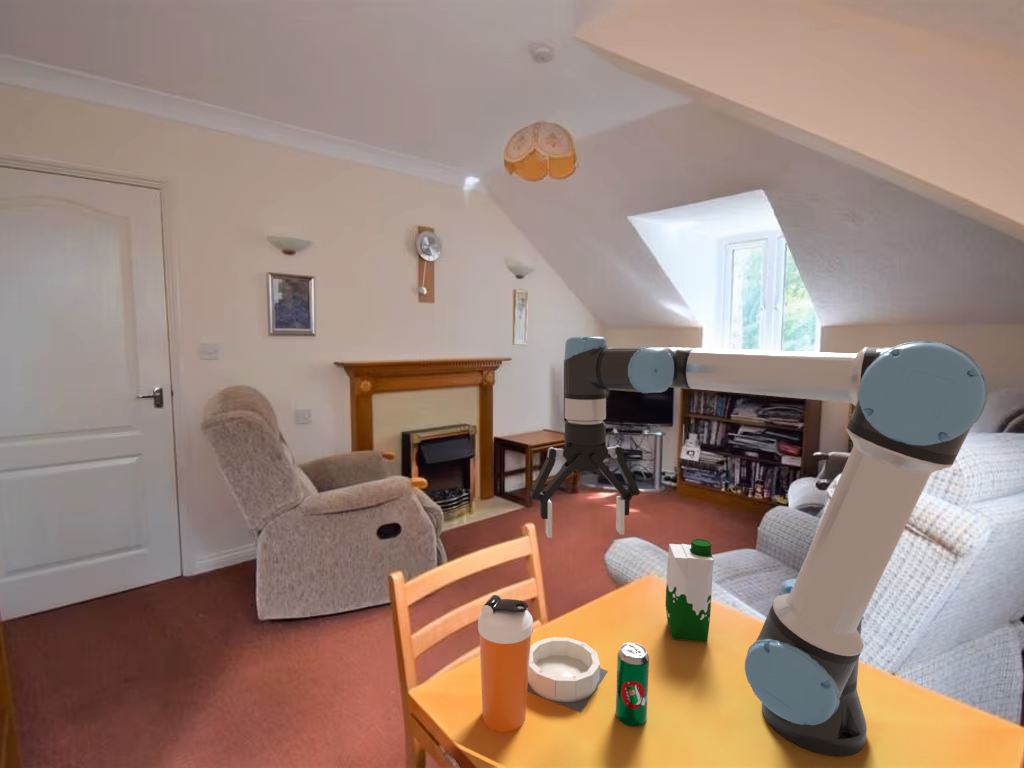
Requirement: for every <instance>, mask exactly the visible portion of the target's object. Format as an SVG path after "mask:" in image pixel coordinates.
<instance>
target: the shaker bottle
mask: <svg viewBox="0 0 1024 768" xmlns="http://www.w3.org/2000/svg"><path fill="white" fill-rule="evenodd" d="M528 609H529V605H528V603H527V602H526V601H525V600H519V599H511V598H509V599H508V598H501V596H499V595H498V594H493V595H491V596H490V598H489V599H488V600H487V601H486V602H485V604H484V605H483V606H482V607H481V612H480V613H479V615H478V618H477V622H478V624H477V632H478V634H479V651H480V652H479V653H480V659H479V660H480V678H481V679H480V680H481V704H482V705H481V706H482V707H481V708H482V709H481V710H482V720H483V723H484V724H485V726H486V727H488V729H491V730H492V731H494V732H498V733H499V732H500V733H508V732H509V733H510V732H514V731H517V730H518V729H520V728H521V727H522V726H523V725H524V724H525V721H526V716H527V715H526V714H527V713H526V712H527V701H528V700H527V698H528V692H527V686H528V671H529V656H530V647H531V641H532V640H531V638H532V635H533V629H534V628H533V627H534V626H533V624H534V619H533V616H532V614H531V613H530V612H529V610H528Z"/></svg>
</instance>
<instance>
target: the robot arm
mask: <svg viewBox="0 0 1024 768" xmlns="http://www.w3.org/2000/svg"><path fill="white" fill-rule="evenodd" d="M564 347H565V348H564V359H563V364H564V419H566V421H565V423H564V444H563V445H564V446H563V448H556V447H553V446H548V447H547V450H546V451H547V452H546V457H545V458H546V459H545V461H544V462H543V465H542V466H541V468H540V471H539V473H538V475H537V477H536V479H535V481H534V483H533V485H532V487H531V489H530V491H529V495H530V496H531V498H532V499H533V500H537V501H539V515H540V517H541V519H542V520H545V535H546V536H547V538H548V539H553V502H552V501H551V498H552V496H554V494H555V493H556V492H557V491H558V490H559V489H560V487H561V486H562V484H564V482H565V480H566V479H567V478H568V477H569V476H570V475H572V474H573V472H574V471H575V472H577V473H584V472H591V473H593V472H596V471H597V470H599V471H600V473H602V474H603V476H604V477H605V478H606V479H607V480H608V482H609V483H610V484H611V485H612V486H613V488H615V491H617V492H618V493H619V495H617V496H615V501H616V503H615V504H616V505H615V510H616V511H615V514H616V515H615V530H616V531H617V533H618V534H619V535H623V536H624V535H625V516H629V515H630V503H631V500H632V499H633V498H632V497H635V496H639V495H640V493H641V491H640V489H639V487H638V485H637V483H636V481H635V478H634V477H633V475H632V472H631V470H630V468H629V466H628V465H627V463H626V460H625V457H624V448H622V446H620V445H618V444H613V446H608V447H607V445H606V442H607V441H606V440H607V437H606V436H607V433H606V430H607V426H606V423H605V422H604V420H606V419H607V408H606V407H607V391H623V392H636V393H641V394H649V393H650V394H652V393H653V394H654V393H663V392H666V391H667V390H668V389H669V388H675V389H676V388H677V389H686V390H688V389H690V390H692V389H693V390H703V391H715V392H724V393H725V392H726V393H739V394H747V395H749V394H750V395H759V396H768V397H771V396H772V397H780V398H792V399H793V398H794V399H802V400H803V399H805V400H813V401H815V400H816V401H823V402H825V401H826V402H835V403H836V402H837V403H847V404H848V403H849V404H852V405H853V406H854V409H853V412H852V414H851V417H850V418H849V421H848V423H847V426H846V428H845V429H846V433H848V436H849V437H850V440H851V441H852V444H853V445H852V449H851V451H850V453H849V456H848V459H847V460H846V462H845V465H844V467H843V470H842V472H841V474H840V477H839V479H838V481H837V484H836V486H835V489H834V491H833V492H832V496H831V498H830V500H829V502H828V505H827V507H826V510H825V512H824V515H823V516H822V519H821V521H820V523H819V526H818V528H817V530H816V533H815V535H814V537H813V539H812V542H811V544H810V547H809V549H808V551H807V554H806V556H805V558H804V561H803V563H802V565H801V568H800V570H799V573H798V575H797V577H796V578H790V579H787V580H785V581H783V582H782V583H781V586H780V591H779V592H778V595H777V596H776V597H775V598H774V600H773V602H772V605H771V607H770V609H769V611H768V613H767V616H766V618H765V621H764V623H763V626H762V628H761V629H760V632H759V635H758V636H757V638H756V640H755V641H754V643H752V644H751V645H750V646H749V647H748V650H747V652H746V656H745V661H744V673H745V676H746V680H747V682H748V684H749V686H750V687H751V689H752V692H753V693H754V695H755V696H756V698H757V699H758V700H759V702H761V711H762V715H763V716H764V718H765V720H766V722H768V724H769V725H770V726H771V727H772V728H773V729H774V730H775V731H776V732H778V734H780V735H781V736H782V737H784V738H785V739H787V740H789V741H790V742H791V743H793V744H795V745H797V746H800V747H802V748H805V749H807V750H810V751H812V752H815V753H818V754H823V755H830V756H839V757H840V756H842V757H843V756H850V755H854V754H856V753H859V752H860V751H861V750H863V748H864V747H865V745H866V741H867V733H868V732H867V731H868V730H867V721H866V718H865V714H864V710H863V707H862V704H861V700H860V696H859V693H858V690H857V689H858V686H857V685H858V675H859V673H858V672H859V660H860V656H861V653H862V651H863V650H864V641H863V639H862V636H861V634H862V624H863V623H862V622H863V621H864V620H865V617H864V614H865V612H866V610H867V607H868V606H869V604H870V602H871V599H872V597H873V595H874V593H875V591H876V589H877V587H878V585H879V583H880V581H881V578H882V576H883V575H884V573H885V570H886V569H887V566H888V564H889V562H890V560H891V557H892V556H893V553H894V551H895V549H896V547H897V545H898V543H899V541H900V539H901V537H902V534H903V533H904V530H905V528H906V526H907V524H908V522H909V520H910V519H911V515H912V513H913V512H914V510H915V508H916V505H917V504H918V501H919V499H920V497H921V495H922V493H923V492H924V491H923V490H924V489H925V486H926V484H927V482H928V480H929V478H930V476H931V474H932V473H934V472H939V471H941V470H945V469H948V468H951V467H952V466H953V464H954V462H955V461H956V459H957V456H958V455H959V453H960V450H961V449H962V447H963V444H964V442H965V440H966V438H967V436H968V434H969V432H970V430H971V428H972V427H973V425H974V424H975V423H977V422H978V421H979V419H980V418H981V416H982V414H983V412H984V410H985V407H986V405H987V401H988V396H989V395H988V394H989V393H988V385H987V380H986V377H985V375H984V373H983V370H982V369H981V367H980V365H979V364H978V362H976V360H975V359H974V358H973V357H972V356H971V355H970V354H969V353H967V352H965V351H964V350H962V349H961V348H958V347H956V346H954V345H952V344H947V343H944V342H937V341H929V340H915V341H910V342H909V341H908V342H904V343H901V344H898V345H895V346H889V347H885V346H881V347H877V346H876V347H875V346H870V347H869V346H865V347H863V348H861V350H859V351H858V352H856V353H849V352H822V351H821V352H820V351H797V350H796V351H795V350H772V349H771V350H770V349H769V350H768V349H767V350H766V349H765V350H764V349H739V348H738V349H734V348H715V347H714V348H711V347H710V348H709V347H684V346H683V347H681V346H679V345H678V346H676V345H672V346H671V345H670V346H669V345H668V346H663V347H661V346H658V347H656V346H644V347H643V346H642V347H641V346H639V347H610V346H609V347H608V344H607V340H606V338H605V337H604V336H571V337H568V339H566V341H565V346H564ZM608 455H610V457H611V458H613V459H614V461H615V463H616V467H618V470H619V471H620V474H621V476H622V478H623V480H624V482H625V484H626V485H627V488H626V487H624V486H623V484H622V482H620V481H619V480H618V478H617V477H616V476H615V475H614V474H613V473H612V471H611V470H610V468H608V466H607V465H606V464H605V463H604V461H605V460H606V458H607V457H608ZM561 456H562V457H563V458H564V459H565V462H564V463H563V464H562V465H561V468H560V469H559V470H558V472H557V473H556V474H555V475H554V477H552V479H551V480H550V481H549V482H548V483H547V480H548V478H549V477H550V474H551V472H552V470H553V468H554V466H555V463H556V461H558V460H559V459H560V457H561ZM546 483H547V485H546V486H545V484H546Z"/></svg>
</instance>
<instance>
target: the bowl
mask: <svg viewBox="0 0 1024 768" xmlns="http://www.w3.org/2000/svg"><path fill="white" fill-rule="evenodd" d="M600 668H601V663H600V658H599V653H598V652H597V651H596V650H595V649H593V648H592V647H591V646H589V644H587V643H586V642H584V641H580V640H576V639H574V638H571V637H555V636H552V637H547V638H544V639H541V640H537V641H535V642H534V643H532V645H530V656H529V671H528V684H529V686H530V688H531V689H532V690H533V691H534V692H535V693H537V694H538V695H540V696H542V697H541V698H543V697H544V698H543V699H545V698H546V700H548V699H549V700H548V701H550V700H552V701H551V702H553V701H557V702H575V701H580V700H583V699H585V698H587V697H589V696H590V695H591V694H593V695H594V693H595V692H596V690H597V689H596V688H598V687H597V685H598V681H599V678H600ZM594 691H595V692H594ZM538 695H537V696H538ZM540 696H539V697H540Z"/></svg>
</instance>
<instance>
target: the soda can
mask: <svg viewBox="0 0 1024 768" xmlns="http://www.w3.org/2000/svg"><path fill="white" fill-rule="evenodd" d="M616 661H617V662H616V663H617V664H616V689H615V690H616V691H615V693H616V694H615V717H616V718H617V720H618V721H619V722H621V724H623V725H625V726H629V727H641V726H642V725H643V724H645V723H646V721H647V720H648V719H647V718H648V717H647V716H648V697H649V696H648V694H649V693H648V692H649V672H650V669H649V667H650V657H649V655H648V651H647V649H646V647H645V646H643V645H642V644H639V643H636V642H626V643H623V644H621V646H620V647H619V650H618V652H617V660H616Z"/></svg>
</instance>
